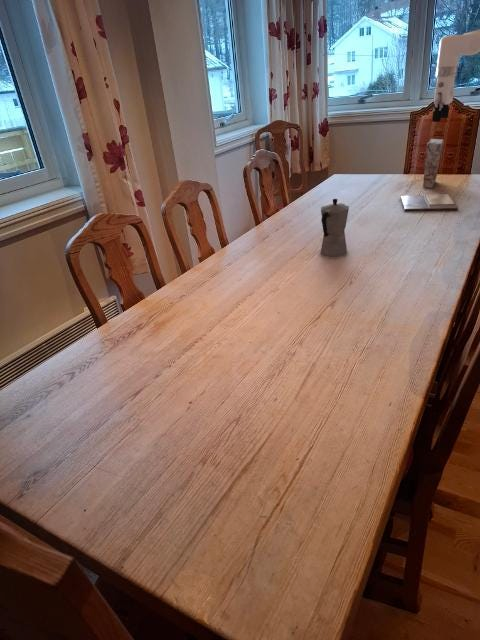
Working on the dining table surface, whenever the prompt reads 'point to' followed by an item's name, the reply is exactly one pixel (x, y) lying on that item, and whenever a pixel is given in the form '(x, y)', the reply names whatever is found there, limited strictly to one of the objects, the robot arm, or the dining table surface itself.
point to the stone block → (432, 162)
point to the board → (428, 203)
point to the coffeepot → (334, 229)
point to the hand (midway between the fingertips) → (440, 119)
